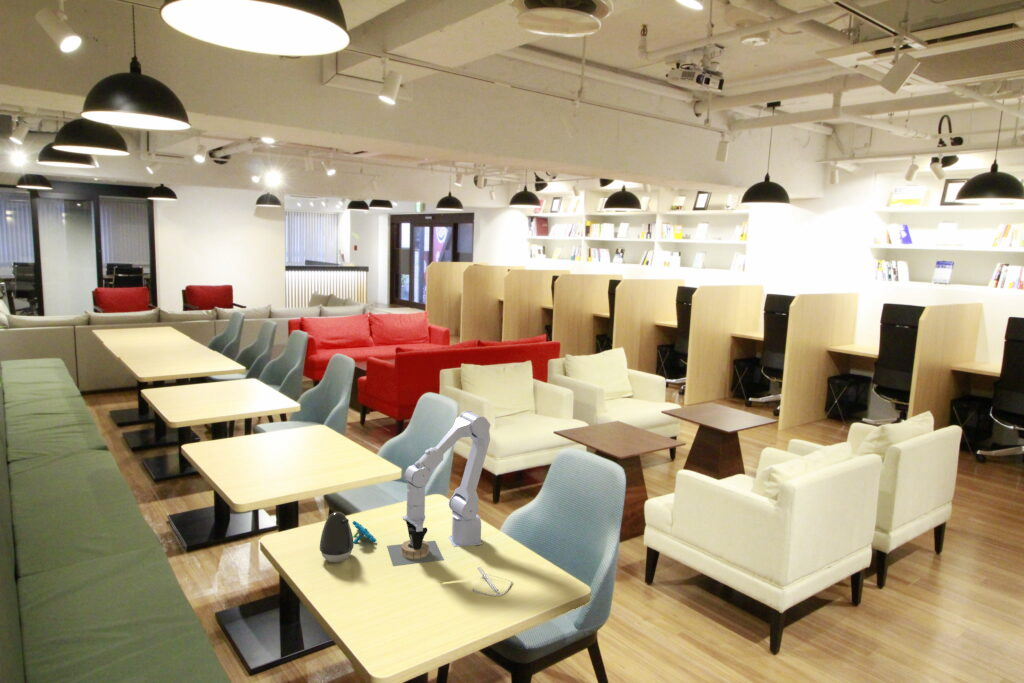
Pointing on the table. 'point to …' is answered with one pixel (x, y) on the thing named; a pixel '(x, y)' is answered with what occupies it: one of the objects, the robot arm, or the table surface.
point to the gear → (362, 532)
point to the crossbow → (489, 584)
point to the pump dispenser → (336, 538)
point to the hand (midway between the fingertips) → (415, 543)
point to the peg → (411, 542)
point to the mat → (400, 560)
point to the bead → (412, 553)
